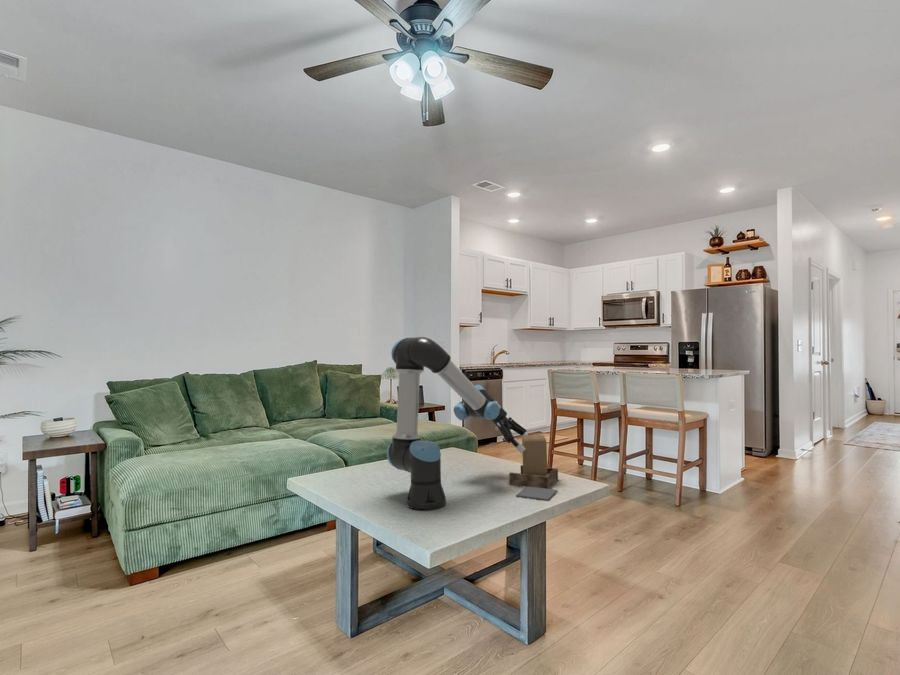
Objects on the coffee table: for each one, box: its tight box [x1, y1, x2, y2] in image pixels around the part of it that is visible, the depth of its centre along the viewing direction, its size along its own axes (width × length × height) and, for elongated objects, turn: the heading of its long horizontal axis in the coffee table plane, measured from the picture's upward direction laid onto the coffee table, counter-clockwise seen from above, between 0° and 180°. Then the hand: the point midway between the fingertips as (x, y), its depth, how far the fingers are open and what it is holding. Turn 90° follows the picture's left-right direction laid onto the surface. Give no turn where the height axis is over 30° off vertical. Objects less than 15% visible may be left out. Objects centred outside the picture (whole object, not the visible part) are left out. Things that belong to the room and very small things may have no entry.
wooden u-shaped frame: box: [508, 464, 559, 489], centre depth 208 cm, size 17×15×5 cm
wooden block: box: [521, 434, 548, 476], centre depth 208 cm, size 10×10×20 cm
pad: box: [515, 486, 558, 502], centre depth 191 cm, size 13×13×1 cm
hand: (528, 448), depth 210 cm, fingers open, 13 cm apart
